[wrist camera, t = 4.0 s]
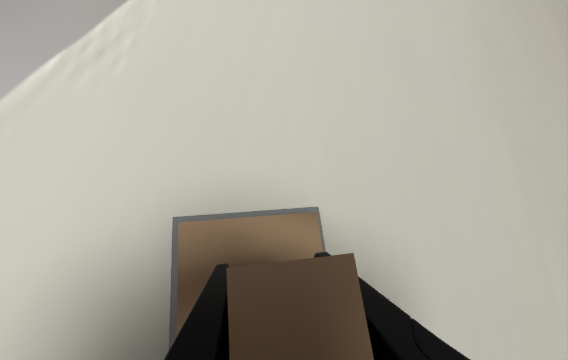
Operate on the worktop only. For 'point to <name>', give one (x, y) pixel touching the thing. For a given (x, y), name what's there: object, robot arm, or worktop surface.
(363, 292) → the robot arm
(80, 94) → the worktop surface
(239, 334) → the brown upright piece
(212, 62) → the worktop surface
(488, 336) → the worktop surface
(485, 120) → the worktop surface
